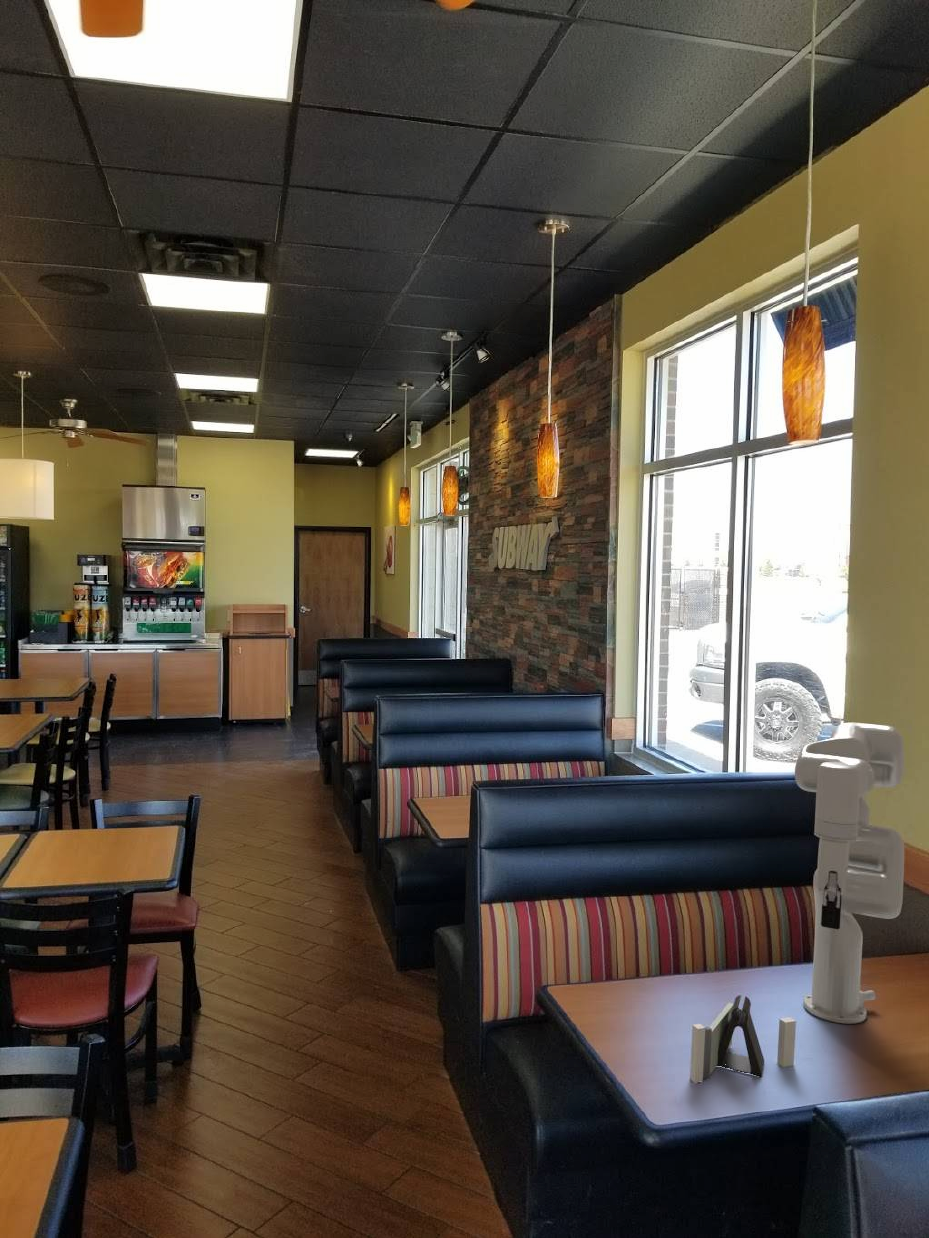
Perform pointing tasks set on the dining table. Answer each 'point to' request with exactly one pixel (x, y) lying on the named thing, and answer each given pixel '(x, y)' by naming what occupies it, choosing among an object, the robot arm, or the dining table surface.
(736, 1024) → the phone stand
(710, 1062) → the door
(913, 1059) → the dining table surface
